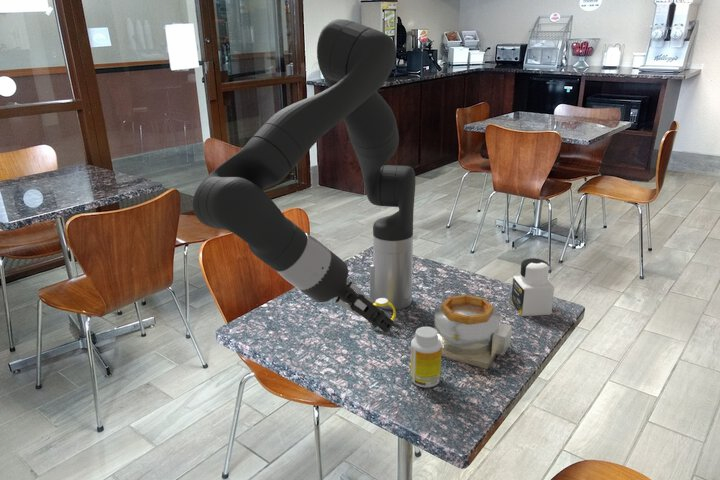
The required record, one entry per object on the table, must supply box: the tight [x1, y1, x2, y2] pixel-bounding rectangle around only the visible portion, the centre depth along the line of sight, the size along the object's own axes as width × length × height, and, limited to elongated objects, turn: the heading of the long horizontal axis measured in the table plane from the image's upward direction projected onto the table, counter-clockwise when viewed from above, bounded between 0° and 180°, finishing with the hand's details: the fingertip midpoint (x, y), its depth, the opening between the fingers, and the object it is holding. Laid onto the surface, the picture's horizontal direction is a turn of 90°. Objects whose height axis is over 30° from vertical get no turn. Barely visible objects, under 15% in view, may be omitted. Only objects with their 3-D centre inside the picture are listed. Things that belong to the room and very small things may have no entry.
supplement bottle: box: [409, 326, 442, 389], centre depth 101 cm, size 6×6×10 cm
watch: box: [372, 298, 397, 322], centre depth 122 cm, size 6×3×6 cm, turn 95°
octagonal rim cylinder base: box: [433, 294, 513, 370], centre depth 113 cm, size 16×14×9 cm
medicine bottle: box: [510, 257, 555, 317], centre depth 126 cm, size 7×7×12 cm
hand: (376, 316), depth 92 cm, fingers open, 8 cm apart
